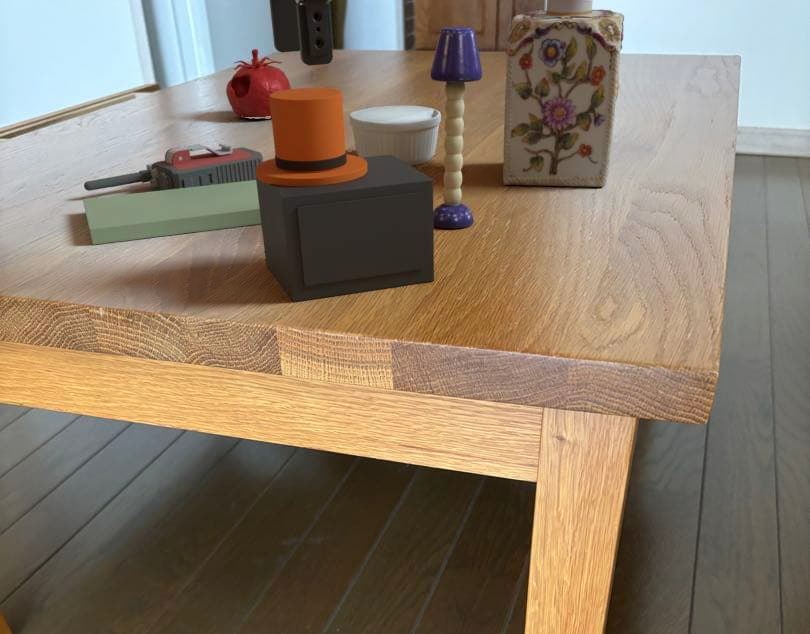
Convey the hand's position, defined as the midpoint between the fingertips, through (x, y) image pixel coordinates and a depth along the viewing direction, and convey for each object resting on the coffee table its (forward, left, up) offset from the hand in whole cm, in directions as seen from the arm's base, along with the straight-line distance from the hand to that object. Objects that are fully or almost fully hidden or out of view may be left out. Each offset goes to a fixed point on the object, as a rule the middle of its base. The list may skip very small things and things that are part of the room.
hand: (302, 57), depth 67 cm
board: (-8, +23, -16) cm, 29 cm away
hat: (0, 0, -8) cm, 8 cm away
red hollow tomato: (+11, +76, -16) cm, 78 cm away
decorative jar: (+34, +22, -16) cm, 43 cm away
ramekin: (+20, +38, -16) cm, 46 cm away
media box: (+2, -1, -16) cm, 16 cm away
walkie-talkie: (-7, +35, -16) cm, 39 cm away
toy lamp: (+16, +9, -16) cm, 24 cm away
